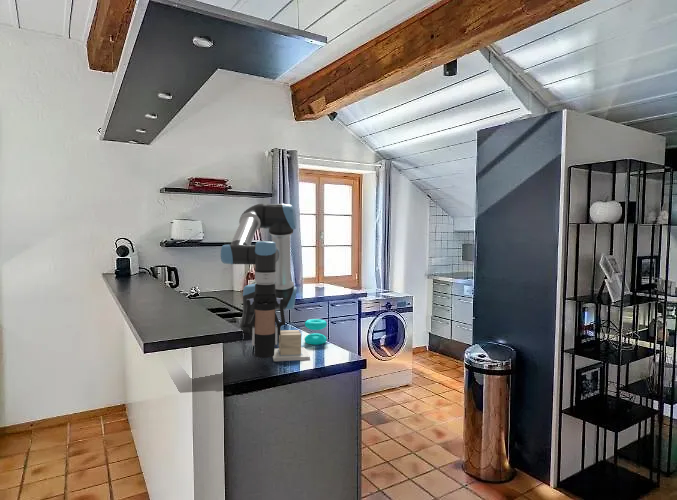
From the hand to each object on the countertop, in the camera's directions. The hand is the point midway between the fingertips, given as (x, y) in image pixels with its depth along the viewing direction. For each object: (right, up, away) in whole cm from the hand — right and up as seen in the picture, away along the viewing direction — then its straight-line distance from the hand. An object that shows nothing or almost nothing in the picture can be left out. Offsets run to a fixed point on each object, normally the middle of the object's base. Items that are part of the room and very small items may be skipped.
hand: (264, 344), depth 164 cm
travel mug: (0, -4, 0) cm, 4 cm away
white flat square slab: (+8, -8, +14) cm, 18 cm away
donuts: (+17, -7, +36) cm, 40 cm away
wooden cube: (+8, -6, +14) cm, 17 cm away
